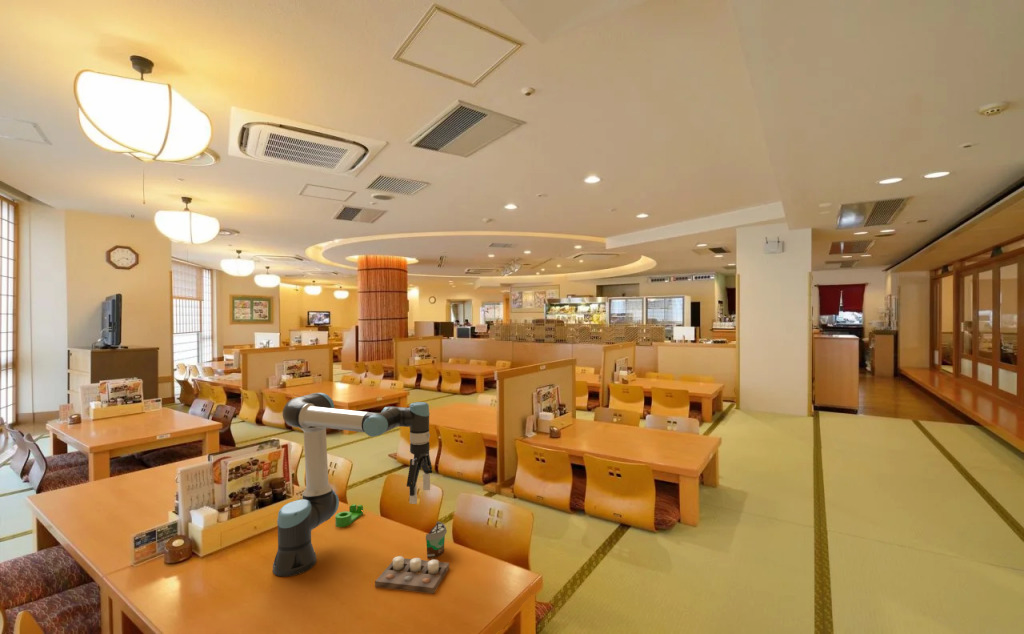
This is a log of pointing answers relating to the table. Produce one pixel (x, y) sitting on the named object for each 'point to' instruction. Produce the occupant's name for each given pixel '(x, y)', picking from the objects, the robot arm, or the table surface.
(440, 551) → the food container
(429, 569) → the button right
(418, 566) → the button mid
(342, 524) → the green ring bracket
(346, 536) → the table surface
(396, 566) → the button left
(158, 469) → the table surface
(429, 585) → the board
